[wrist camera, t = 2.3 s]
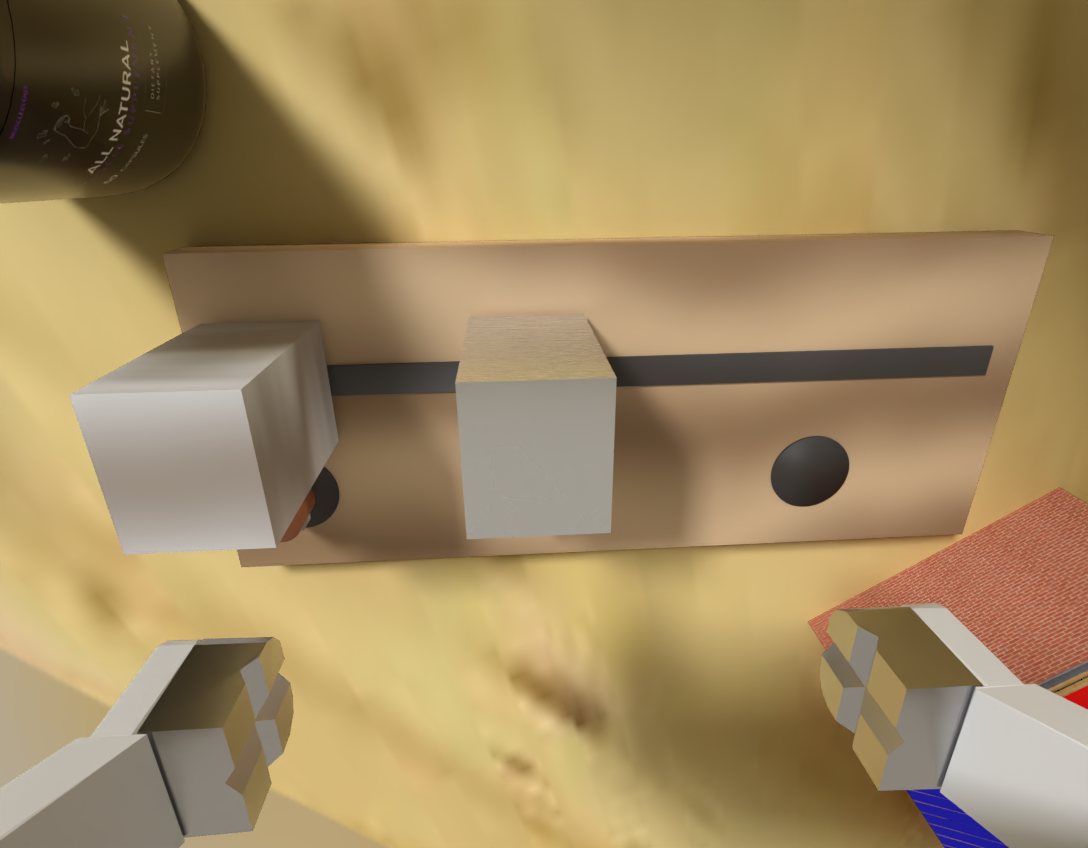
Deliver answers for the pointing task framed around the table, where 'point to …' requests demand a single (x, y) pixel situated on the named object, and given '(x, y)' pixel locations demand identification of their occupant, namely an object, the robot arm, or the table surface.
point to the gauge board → (641, 390)
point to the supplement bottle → (95, 96)
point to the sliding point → (535, 427)
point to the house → (1004, 614)
